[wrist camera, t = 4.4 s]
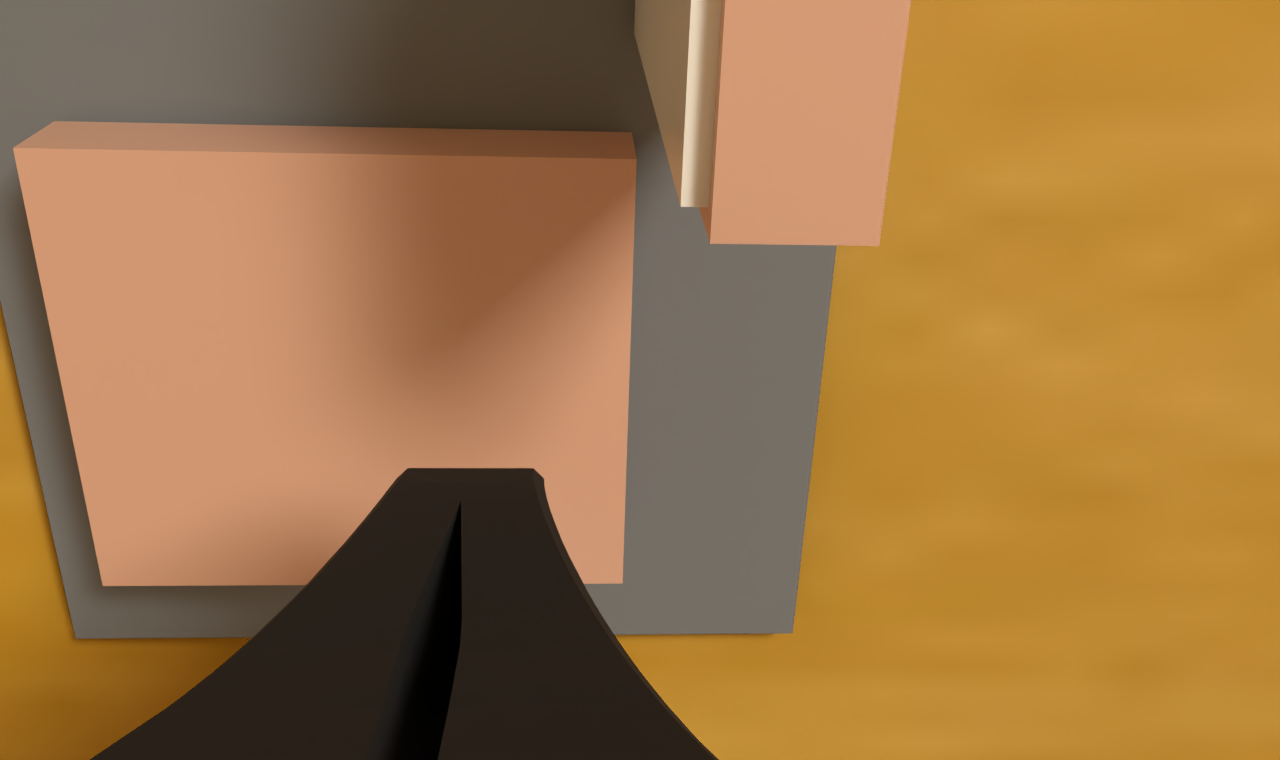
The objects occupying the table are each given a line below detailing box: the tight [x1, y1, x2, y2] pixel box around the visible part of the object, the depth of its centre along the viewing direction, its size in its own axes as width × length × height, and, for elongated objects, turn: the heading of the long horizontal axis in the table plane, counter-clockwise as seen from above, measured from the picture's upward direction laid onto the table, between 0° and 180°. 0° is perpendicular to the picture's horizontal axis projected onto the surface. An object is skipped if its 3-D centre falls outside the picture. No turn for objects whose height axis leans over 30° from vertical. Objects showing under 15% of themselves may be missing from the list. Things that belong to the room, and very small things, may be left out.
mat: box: [0, 0, 836, 639], centre depth 15 cm, size 17×11×1 cm, turn 178°
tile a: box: [13, 121, 637, 586], centre depth 15 cm, size 6×1×7 cm
